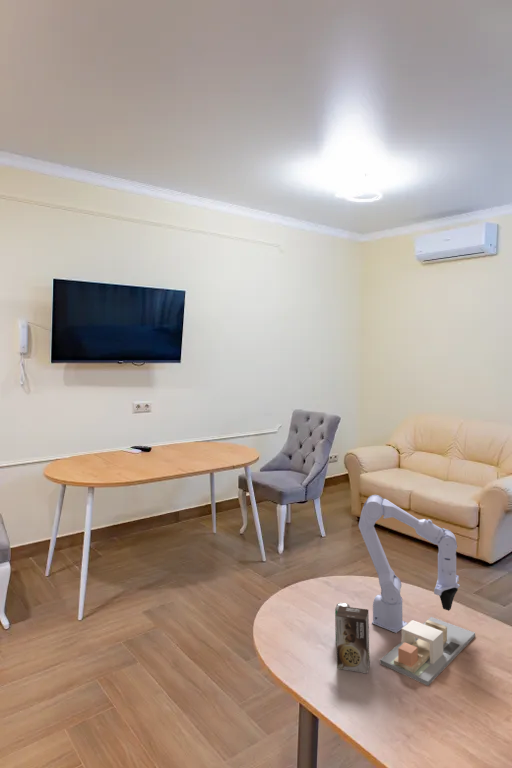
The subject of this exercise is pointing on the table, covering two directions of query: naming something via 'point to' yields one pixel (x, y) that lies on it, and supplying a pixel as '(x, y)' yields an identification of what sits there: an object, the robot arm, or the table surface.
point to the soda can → (336, 612)
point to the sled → (423, 648)
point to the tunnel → (424, 638)
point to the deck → (428, 671)
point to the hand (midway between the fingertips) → (446, 609)
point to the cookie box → (352, 639)
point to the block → (408, 654)
